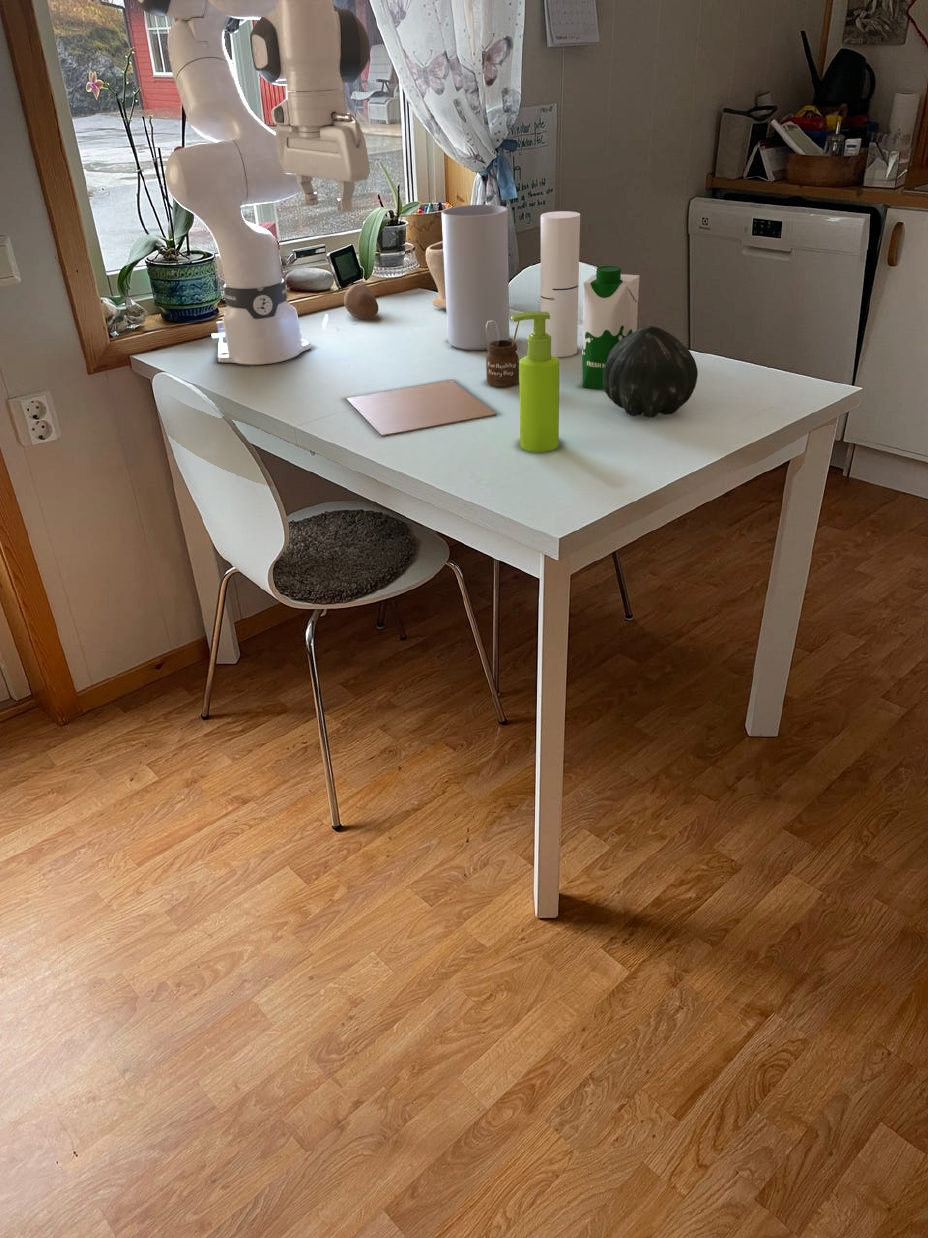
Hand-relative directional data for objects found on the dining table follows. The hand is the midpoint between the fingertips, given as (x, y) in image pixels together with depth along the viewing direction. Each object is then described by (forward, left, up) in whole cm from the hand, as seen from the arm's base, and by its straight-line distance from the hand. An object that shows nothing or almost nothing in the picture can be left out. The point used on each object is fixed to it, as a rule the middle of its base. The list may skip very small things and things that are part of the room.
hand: (328, 207), depth 154 cm
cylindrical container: (-4, +44, -31) cm, 54 cm away
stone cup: (-43, +39, -31) cm, 66 cm away
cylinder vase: (-18, +33, -31) cm, 49 cm away
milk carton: (+17, +43, -31) cm, 56 cm away
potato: (-50, +18, -31) cm, 62 cm away
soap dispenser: (+37, +19, -31) cm, 52 cm away
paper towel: (+12, +9, -31) cm, 34 cm away
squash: (+32, +42, -31) cm, 61 cm away
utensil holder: (+8, +27, -31) cm, 42 cm away
